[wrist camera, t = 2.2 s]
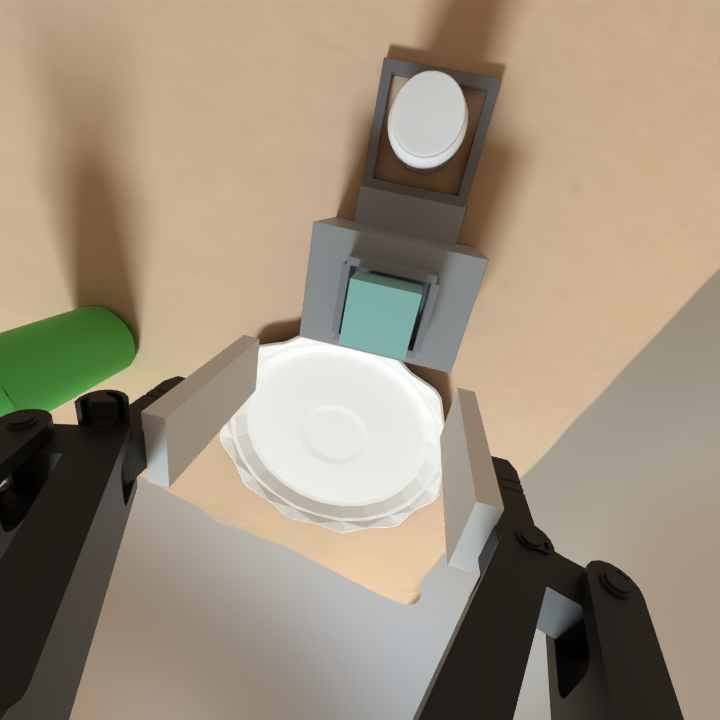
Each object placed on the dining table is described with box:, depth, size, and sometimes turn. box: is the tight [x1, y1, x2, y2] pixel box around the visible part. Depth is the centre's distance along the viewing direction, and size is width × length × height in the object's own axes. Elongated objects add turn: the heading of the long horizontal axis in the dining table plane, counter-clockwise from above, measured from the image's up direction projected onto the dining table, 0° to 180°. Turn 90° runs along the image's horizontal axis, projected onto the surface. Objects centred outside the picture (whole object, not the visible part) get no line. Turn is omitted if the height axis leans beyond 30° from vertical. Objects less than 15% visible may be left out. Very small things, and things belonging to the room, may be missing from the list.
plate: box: [219, 335, 445, 533], centre depth 46 cm, size 29×29×2 cm
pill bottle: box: [388, 71, 468, 174], centre depth 28 cm, size 6×6×10 cm
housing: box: [299, 58, 502, 373], centre depth 30 cm, size 23×14×10 cm, turn 169°
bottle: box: [0, 306, 135, 417], centre depth 35 cm, size 9×9×25 cm
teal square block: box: [339, 271, 422, 360], centre depth 27 cm, size 5×5×3 cm
